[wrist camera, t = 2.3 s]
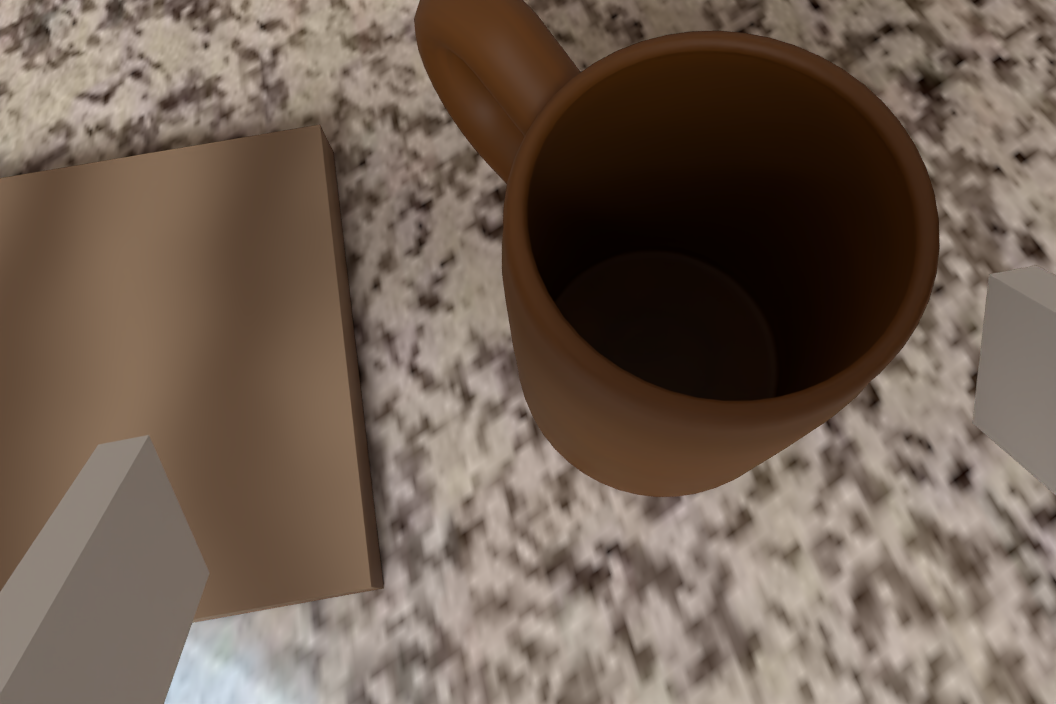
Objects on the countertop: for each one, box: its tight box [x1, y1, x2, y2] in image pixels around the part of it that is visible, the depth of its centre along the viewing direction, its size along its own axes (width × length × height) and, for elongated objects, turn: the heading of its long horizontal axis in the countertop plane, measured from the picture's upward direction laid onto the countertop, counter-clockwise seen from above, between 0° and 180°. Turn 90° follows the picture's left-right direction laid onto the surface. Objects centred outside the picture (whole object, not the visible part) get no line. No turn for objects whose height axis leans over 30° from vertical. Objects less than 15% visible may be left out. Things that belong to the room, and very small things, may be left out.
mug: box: [414, 0, 939, 497], centre depth 19 cm, size 12×8×9 cm, turn 42°
